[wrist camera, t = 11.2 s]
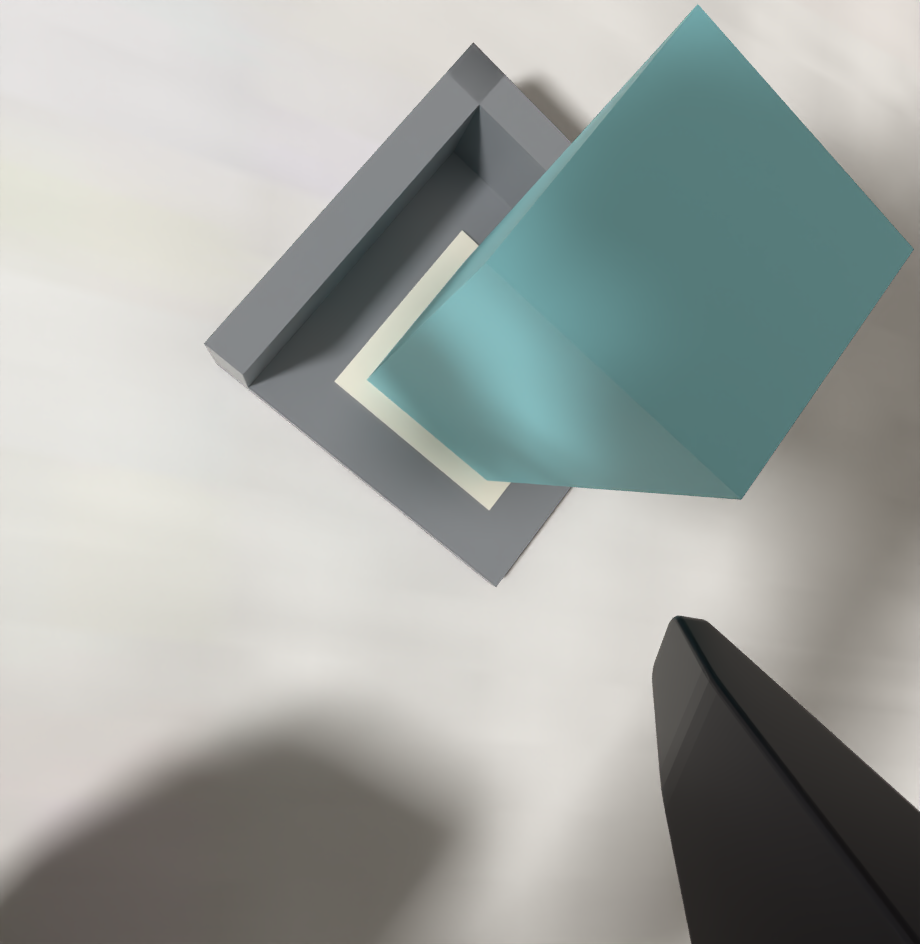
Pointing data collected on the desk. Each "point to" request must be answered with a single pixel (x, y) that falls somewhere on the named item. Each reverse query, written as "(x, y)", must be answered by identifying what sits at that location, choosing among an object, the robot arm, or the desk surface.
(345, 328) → the tray
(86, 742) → the desk surface
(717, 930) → the robot arm
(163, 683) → the desk surface
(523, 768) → the desk surface
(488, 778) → the desk surface
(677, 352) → the block
